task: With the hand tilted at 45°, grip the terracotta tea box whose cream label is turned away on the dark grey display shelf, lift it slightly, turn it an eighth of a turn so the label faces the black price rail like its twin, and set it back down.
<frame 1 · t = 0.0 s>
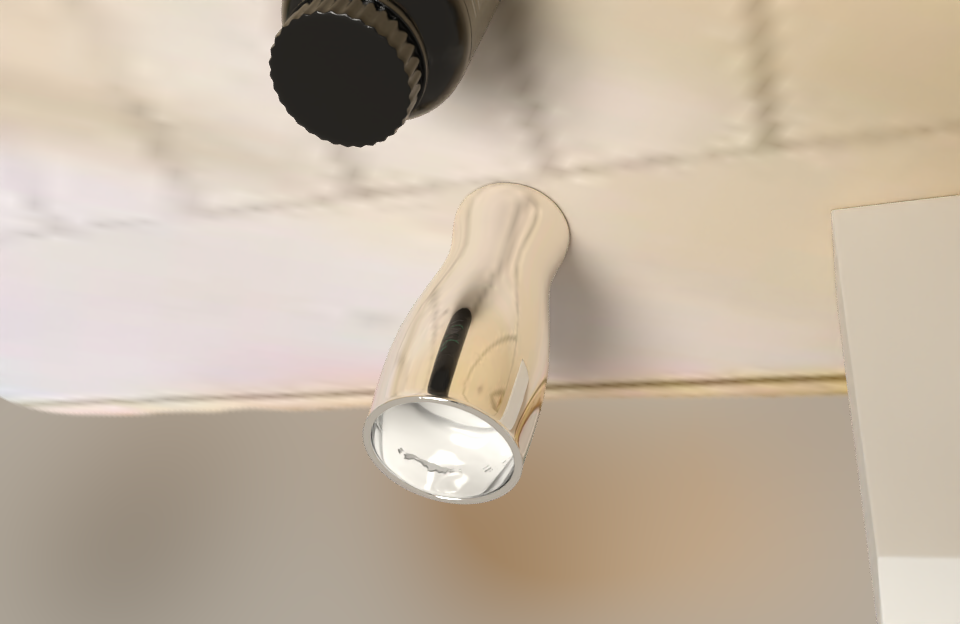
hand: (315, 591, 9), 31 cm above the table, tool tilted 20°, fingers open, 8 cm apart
milk: (900, 249, 41), on the table
beer glass: (512, 228, 45), on the table
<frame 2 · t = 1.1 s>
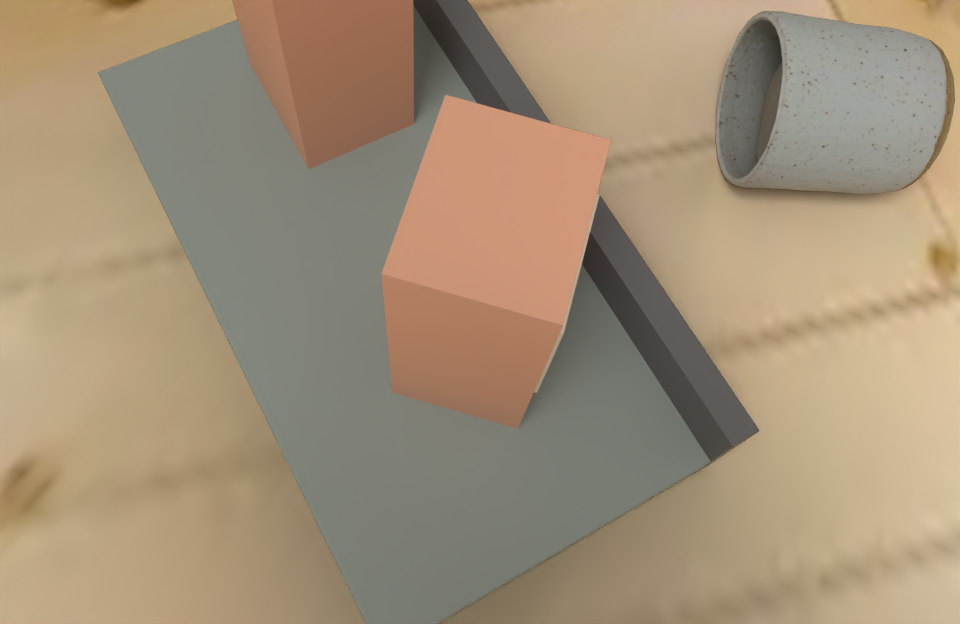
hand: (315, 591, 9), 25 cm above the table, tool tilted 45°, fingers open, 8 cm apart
ceramic mug: (784, 131, 43), on the table
tea box: (476, 339, 34), point 3 cm above the table, touching display shelf
display shelf: (386, 283, 38), on the table
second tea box: (331, 94, 38), point 3 cm above the table, touching display shelf
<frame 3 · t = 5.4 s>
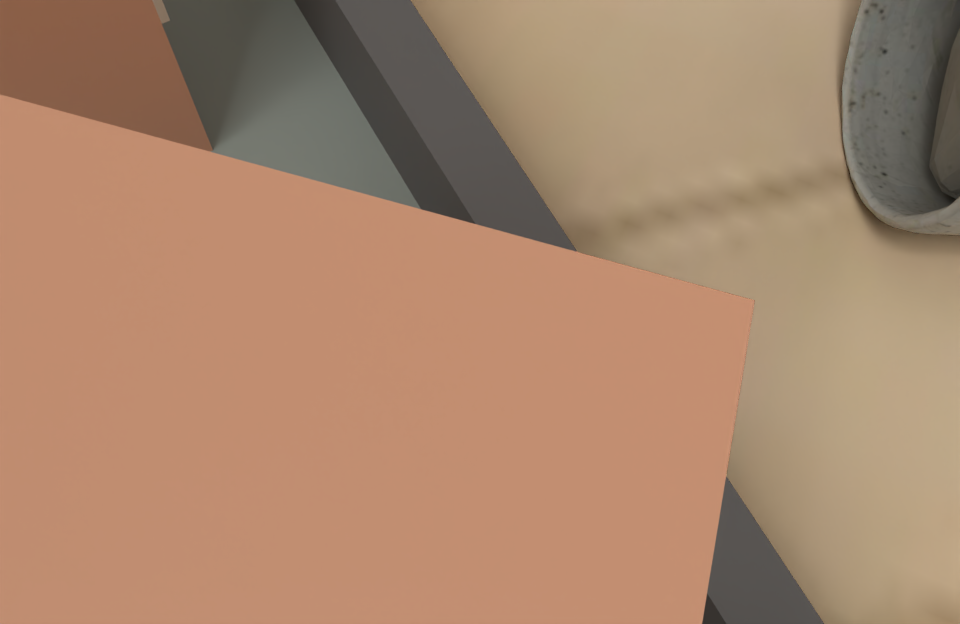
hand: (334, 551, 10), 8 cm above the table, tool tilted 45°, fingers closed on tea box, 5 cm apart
display shelf: (159, 499, 17), on the table
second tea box: (35, 85, 17), point 3 cm above the table, touching display shelf
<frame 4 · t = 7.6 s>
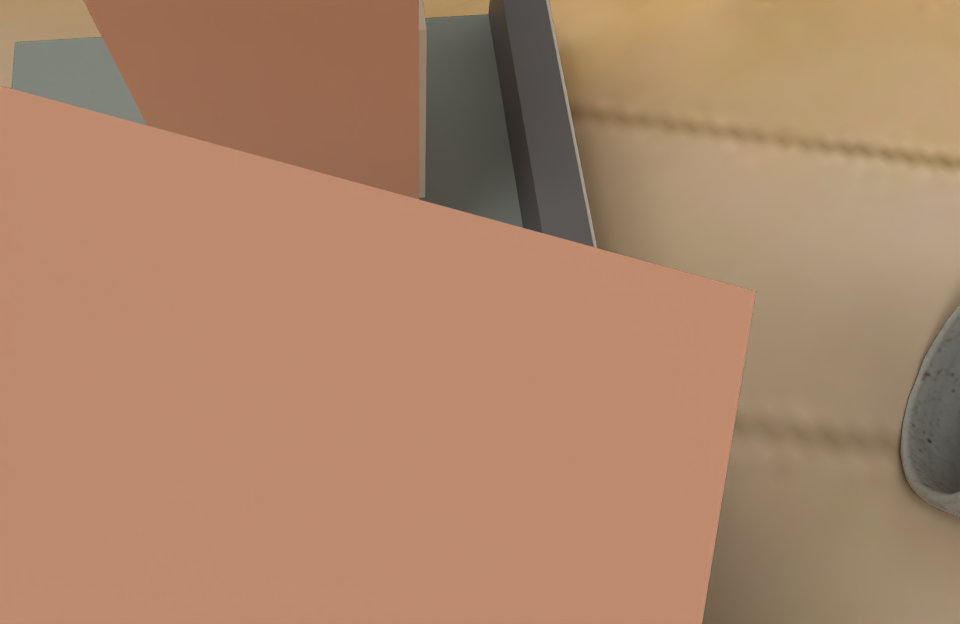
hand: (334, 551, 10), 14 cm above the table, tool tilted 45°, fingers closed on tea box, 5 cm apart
display shelf: (293, 493, 24), on the table
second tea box: (319, 182, 24), point 3 cm above the table, touching display shelf
when the fingers open (9 cm above the table, at t = 10.0 s): tea box stays where it is, resting on display shelf.
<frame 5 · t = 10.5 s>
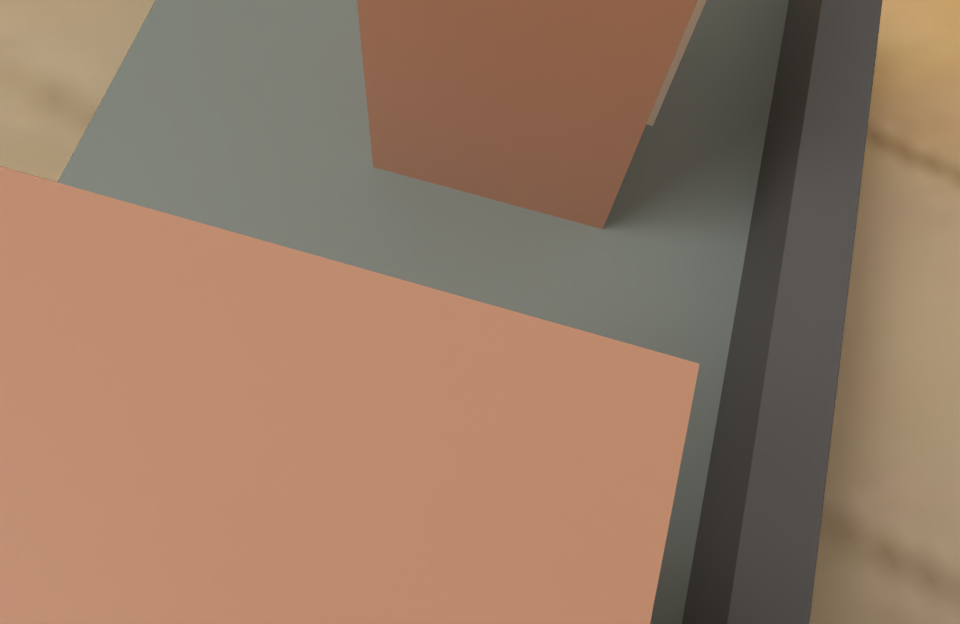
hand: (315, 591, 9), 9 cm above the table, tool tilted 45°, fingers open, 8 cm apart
display shelf: (353, 437, 19), on the table
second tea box: (522, 85, 19), point 3 cm above the table, touching display shelf
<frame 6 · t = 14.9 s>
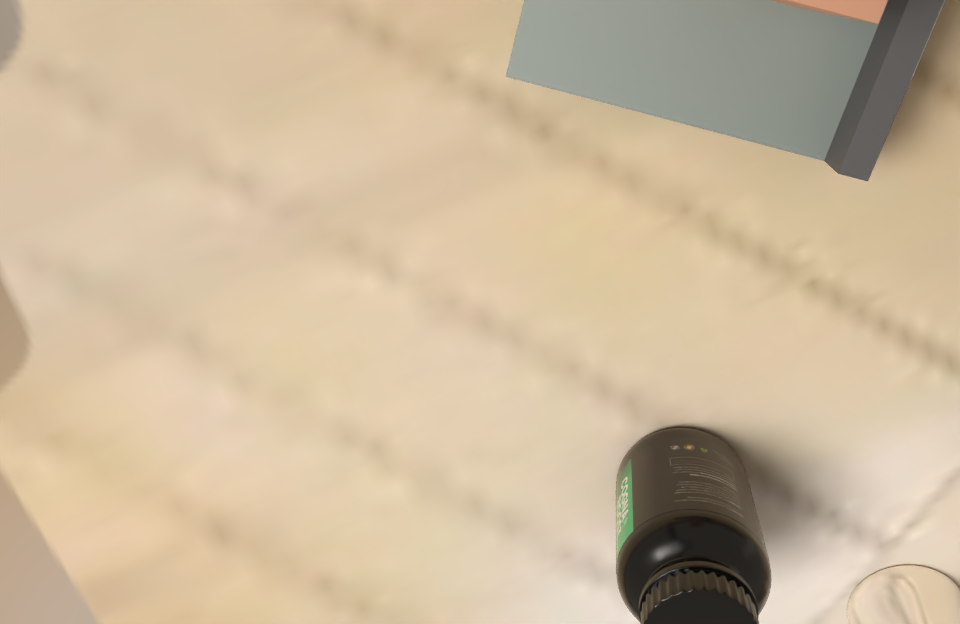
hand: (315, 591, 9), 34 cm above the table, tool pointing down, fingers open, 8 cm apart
supplement bottle: (679, 477, 47), on the table
beer glass: (903, 607, 48), on the table
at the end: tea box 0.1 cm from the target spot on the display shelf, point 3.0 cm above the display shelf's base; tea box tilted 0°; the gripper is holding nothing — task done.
